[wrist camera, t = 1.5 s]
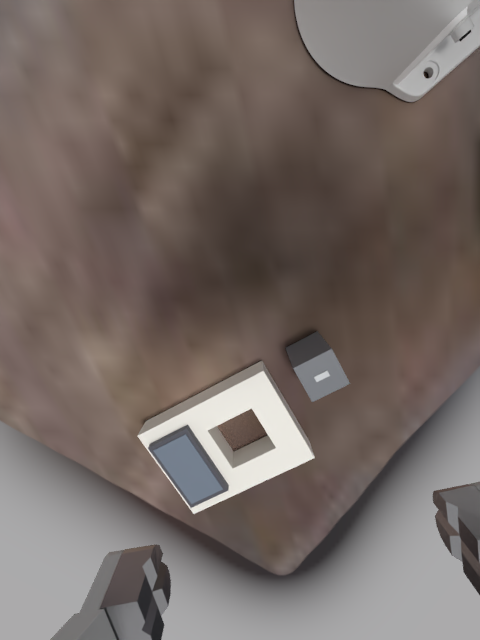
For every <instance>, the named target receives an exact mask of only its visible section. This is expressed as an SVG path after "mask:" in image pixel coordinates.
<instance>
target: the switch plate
mask: <svg viewBox="0 0 480 640" xmlns="http://www.w3.org/2000/svg"><path fill="white" fill-rule="evenodd" d="M251 408H252V410H253V411H254V413H255V414H256V416H257V418H258V419H259V421H260V423H261V424H262V426H263V427H264V429H265V431H266V432H267V434H268V435H267V436H265V437H263V438H261V439H259V440H257V441H255V442H253V443H251V444H249V445H247V446H245V447H242V448H240V449H238V450H236V451H233V450H232V448H231V447H230V445H229V444H228V442H227V441H226V439H225V438H224V436H223V435H222V433H221V431H220V430H219V428H218V427H217V426H218V425H220V424H222V423H223V422H225V421H227V420H229V419H231V418H233V417H235V416H237V415H239V414H241V413H243V412H245V411H247V410H249V409H251ZM138 438H139V439H140V440H141V442H142V443H143V444H144V446H145V447H146V449H147V450H148V451H149V453H150V454H151V455H152V457H153V458H154V460H155V461H156V462H157V464H158V465H159V467H160V468H161V469H162V471H163V472H164V473H165V475H166V476H167V478H168V479H169V480H170V482H171V483H172V485H173V486H174V487H175V489H176V490H177V491H178V493H179V494H180V496H181V497H182V498H183V500H184V501H185V503H186V504H187V505H188V507H189V508H190V509H191V511H192V512H193V514H195V513H197V512H199V511H201V510H203V509H206V508H208V507H210V506H212V505H214V504H216V503H219V502H221V501H223V500H225V499H227V498H229V497H231V496H234V495H236V494H238V493H240V492H242V491H244V490H247V489H249V488H251V487H253V486H255V485H257V484H259V483H262V482H264V481H266V480H268V479H270V478H272V477H275V476H277V475H279V474H281V473H283V472H285V471H287V470H290V469H292V468H294V467H296V466H298V465H300V464H303V463H305V462H307V461H309V460H311V459H313V458H315V457H314V454H313V451H312V448H311V444H310V441H309V440H308V438H307V436H306V435H305V433H304V431H303V429H302V428H301V426H300V424H299V423H298V421H297V419H296V417H295V416H294V414H293V412H292V411H291V409H290V407H289V405H288V404H287V402H286V400H285V399H284V397H283V395H282V394H281V392H280V390H279V388H278V387H277V385H276V383H275V382H274V380H273V378H272V376H271V375H270V373H269V371H268V370H267V368H266V366H265V364H264V363H263V361H260V362H258V363H256V364H254V365H252V366H250V367H248V368H247V369H245V370H243V371H241V372H239V373H237V374H235V375H233V376H231V377H229V378H227V379H226V380H224V381H222V382H220V383H218V384H216V385H214V386H212V387H210V388H208V389H206V390H204V391H203V392H201V393H199V394H197V395H195V396H193V397H191V398H189V399H187V400H185V401H183V402H182V403H180V404H178V405H176V406H174V407H172V408H170V409H168V410H166V411H164V412H162V413H161V414H159V415H157V416H155V417H153V418H151V419H149V420H147V421H146V422H145V424H144V425H143V427H142V429H141V431H140V432H139V434H138Z"/></svg>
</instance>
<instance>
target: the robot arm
mask: <svg viewBox="0 0 480 640" xmlns="http://www.w3.org/2000/svg"><path fill="white" fill-rule="evenodd" d="M294 5H295V14H296V20H297V24H298V28H299V31H300V34H301V37H302V39H303V41H304V43H305V45H306V47H307V49H308V51H309V52H310V54H311V55H312V57H313V58H314V59H315V61H316V62H317V63H318V64H319V65H320V66H321V67H322V68H323V69H324V70H325V71H326V72H328V73H329V74H330V75H332V76H333V77H335V78H337V79H338V80H340V81H343V82H345V83H348V84H351V85H355V86H360V87H372V88H381V89H385V90H387V91H388V92H390V93H391V94H393V95H395V96H396V97H398V98H400V99H402V100H404V101H408V102H415V101H417V100H419V99H420V98H422V97H423V96H424V95H425V94H426V93H427V92H429V91H430V90H431V89H432V88H433V87H434V86H435V85H437V84H438V83H439V82H440V81H441V80H442V79H443V78H445V77H446V76H447V75H448V74H449V73H450V72H451V71H453V70H454V69H455V68H456V67H457V66H458V65H459V64H461V63H462V62H463V61H464V60H465V59H466V58H467V57H468V56H470V55H471V54H472V53H473V52H474V51H475V50H476V49H478V48H479V47H480V0H294ZM424 72H427V73H428V74H429V78H425V77H424V74H423V73H424ZM433 503H434V504H435V505H436V507H437V508H438V509H439V510H438V512H437V514H436V515H435V518H436V524H437V528H438V531H439V533H440V536H441V538H442V540H443V542H444V544H445V546H446V547H447V549H448V550H449V552H450V553H451V555H452V556H454V557H456V558H457V559H459V560H460V561H462V562H463V570H464V573H465V575H466V576H467V578H468V579H469V580H470V582H471V583H472V585H473V586H474V588H475V589H476V591H477V592H478V593H479V595H480V482H476V483H471V484H466V485H462V486H456V487H452V488H447V489H442V490H437V491H434V492H433ZM162 556H163V553H162V550H161V548H160V545H150V546H144V547H137V548H131V549H125V550H121V551H114V552H109V553H108V554H107V555H106V557H105V558H104V560H103V562H102V565H101V567H100V569H99V571H98V573H97V576H96V578H95V580H94V582H93V584H92V587H91V589H90V591H89V593H88V595H87V598H86V600H85V602H84V604H83V606H82V609H81V611H80V613H77V614H74V615H73V616H72V617H71V618H70V619H69V620H68V621H67V622H66V624H65V625H64V626H63V627H62V628H61V629H60V630H59V631H58V632H57V633H56V634H55V635H54V636H53V637H52V638H51V639H50V640H161V637H162V633H163V628H164V623H163V620H162V617H161V615H162V614H163V612H164V611H165V610H166V609H167V607H168V604H169V599H170V591H171V590H170V589H171V580H170V573H169V570H168V567H167V565H165V564H164V563H163V562H161V560H162Z"/></svg>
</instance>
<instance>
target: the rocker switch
mask: <svg viewBox="0 0 480 640" xmlns="http://www.w3.org/2000/svg"><path fill="white" fill-rule="evenodd" d="M286 351H287V354H288V356H289V359H290V361H291V364H292V367H293V369H294V371H295V373H296V374H297V376H298V378H299V380H300V381H301V383H302V385H303V387H304V389H305V390H306V392H307V394H308V396H309V397H310V399H311V401H312V402H314V401H316V400H318V399H320V398H322V397H324V396H326V395H328V394H330V393H332V392H334V391H336V390H338V389H340V388H342V387H344V386H346V385H348V384H350V383H349V381H348V379H347V377H346V375H345V373H344V371H343V369H342V367H341V365H340V364H339V362H338V360H337V358H336V356H335V354H334V352H333V350H332V349H331V347H330V346H329V345H328V344H327V342H326V341H325V340H324V339H323V338H322V336H321V335H320V334H319V333H318V331H317V332H315V333H313V334H311V335H309V336H307V337H305V338H304V339H302V340H300V341H298V342H296V343H294V344H292V345H290V346H288V347H286Z"/></svg>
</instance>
